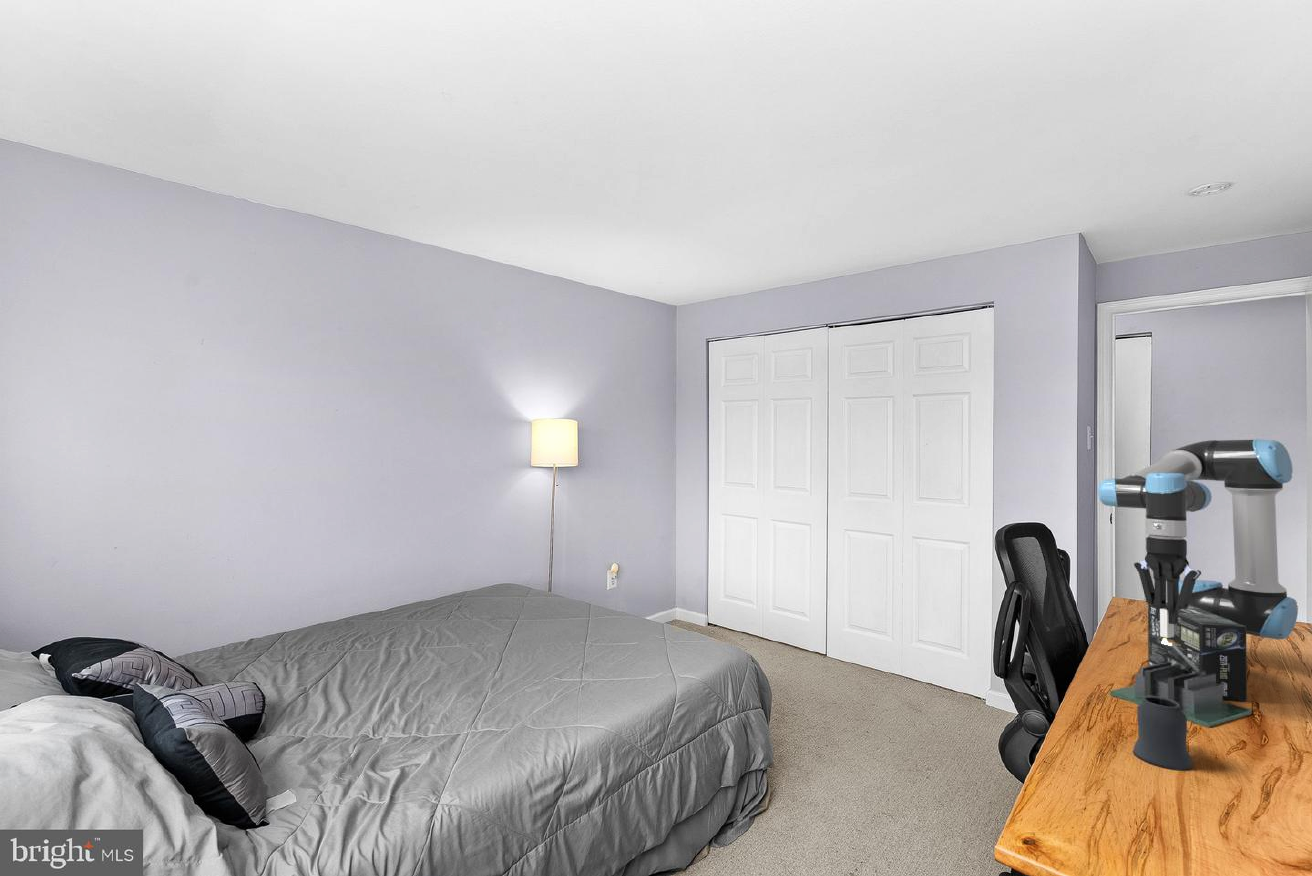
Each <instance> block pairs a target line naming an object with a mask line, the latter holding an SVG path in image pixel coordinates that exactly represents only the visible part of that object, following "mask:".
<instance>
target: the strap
mask: <svg viewBox="0 0 1312 876" xmlns="http://www.w3.org/2000/svg"><path fill="white" fill-rule="evenodd" d="M1162 644H1163V645H1164V646H1165V647H1166V648H1167V649H1168V650H1169V651H1170V652H1171V653H1172V654H1173V655H1174V656H1175V657H1176V658H1177V659H1178V660H1179V661H1180V662H1181V663H1182V664H1183V665H1184V666H1185V667H1186V668H1187V669H1188V672H1189V673H1194V672H1198V671H1200V670H1199V669H1198V668H1197V667H1196V666H1195V665H1194V664H1193V663H1192V662H1191V661H1190V660H1189V659H1188V658H1187V657H1186V656H1185V655H1184V654H1183V653H1182V652H1181V651H1180V650H1179V649H1178V648H1177V647H1176V646H1177V644H1176V643H1175V642H1174V641H1173V640H1169V639H1165V638H1163V641H1162Z"/></svg>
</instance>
